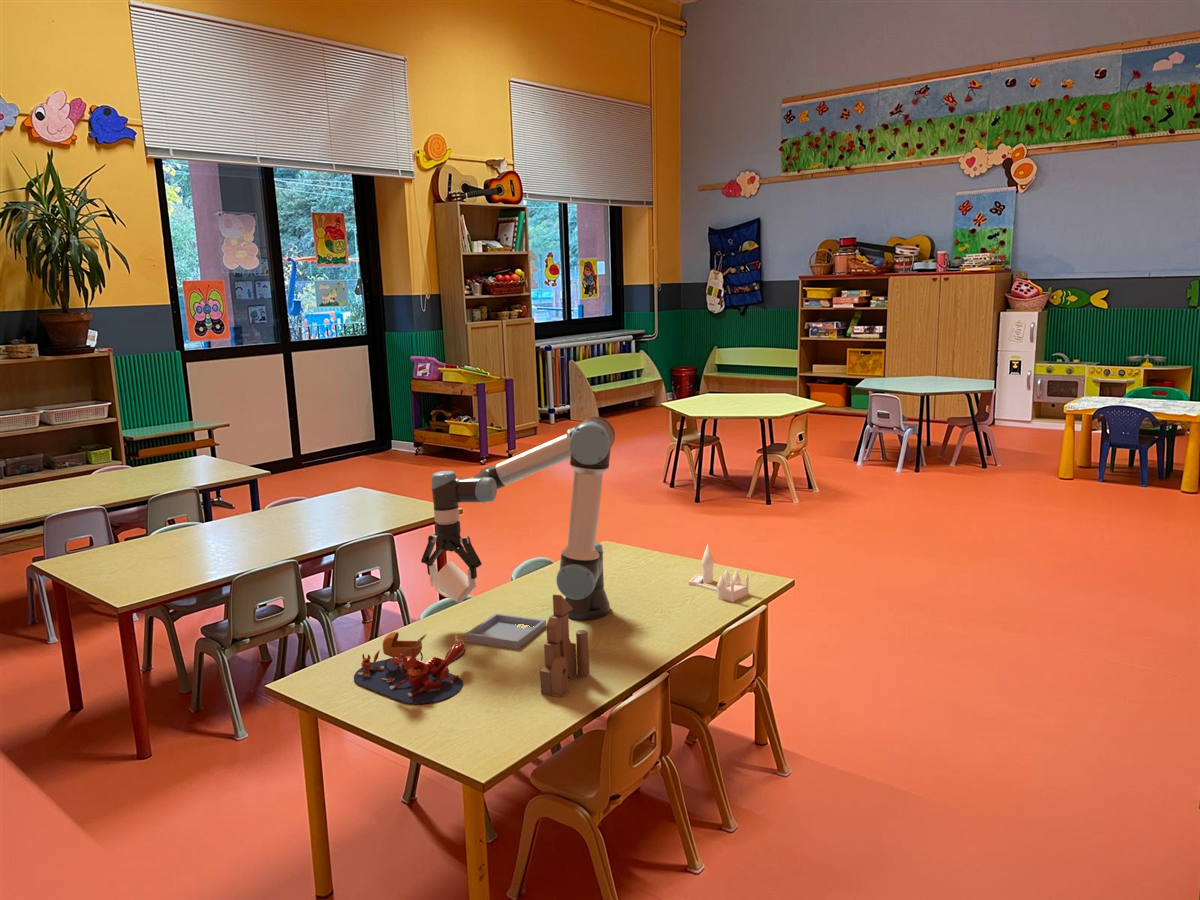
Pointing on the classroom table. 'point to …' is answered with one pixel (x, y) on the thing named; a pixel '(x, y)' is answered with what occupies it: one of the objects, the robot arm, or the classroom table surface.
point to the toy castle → (720, 580)
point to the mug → (452, 582)
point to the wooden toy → (562, 652)
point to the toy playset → (411, 672)
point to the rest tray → (505, 631)
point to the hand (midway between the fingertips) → (453, 587)
